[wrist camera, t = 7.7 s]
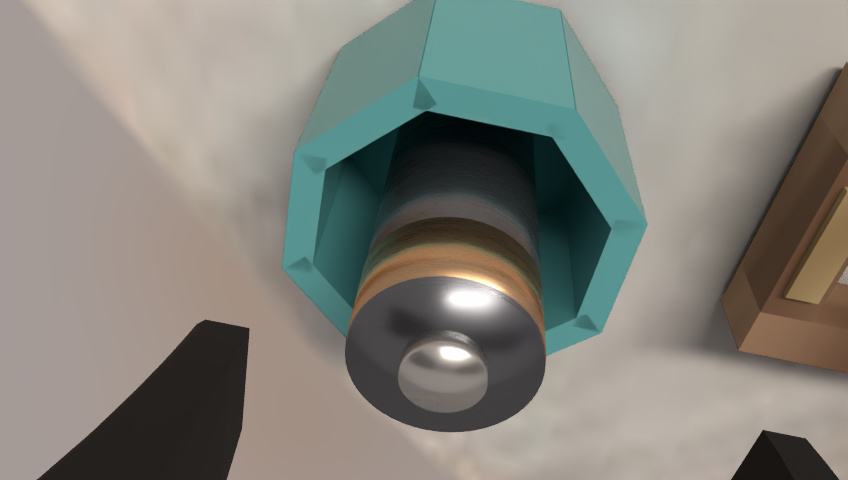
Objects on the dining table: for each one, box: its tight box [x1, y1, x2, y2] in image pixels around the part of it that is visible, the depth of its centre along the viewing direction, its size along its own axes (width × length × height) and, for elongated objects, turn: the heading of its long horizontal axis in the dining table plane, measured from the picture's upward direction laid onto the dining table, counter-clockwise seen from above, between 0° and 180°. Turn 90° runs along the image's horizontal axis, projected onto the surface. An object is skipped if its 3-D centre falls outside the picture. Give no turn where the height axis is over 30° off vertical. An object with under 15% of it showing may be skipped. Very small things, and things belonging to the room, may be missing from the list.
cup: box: [282, 0, 647, 356], centre depth 17 cm, size 7×7×5 cm
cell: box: [345, 111, 546, 432], centre depth 16 cm, size 3×3×8 cm
